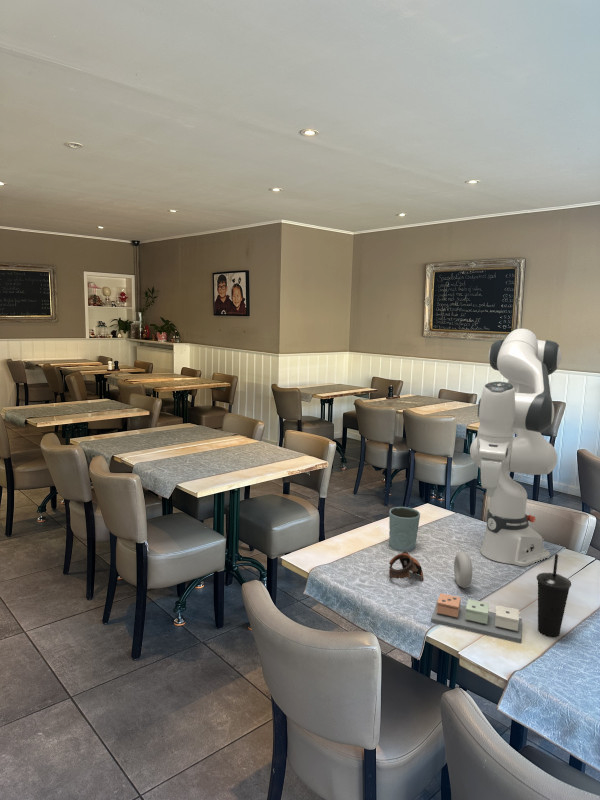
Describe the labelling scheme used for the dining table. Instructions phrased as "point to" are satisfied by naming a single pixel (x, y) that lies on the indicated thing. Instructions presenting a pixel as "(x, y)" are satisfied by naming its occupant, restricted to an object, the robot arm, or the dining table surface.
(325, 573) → the dining table surface
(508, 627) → the cream tile
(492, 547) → the robot arm
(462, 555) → the donut
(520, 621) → the board
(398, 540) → the green cylindrical pot
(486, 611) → the sage tile
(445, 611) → the terracotta tile
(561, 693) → the dining table surface
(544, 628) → the drinking cup
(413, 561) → the brown rounded piece
